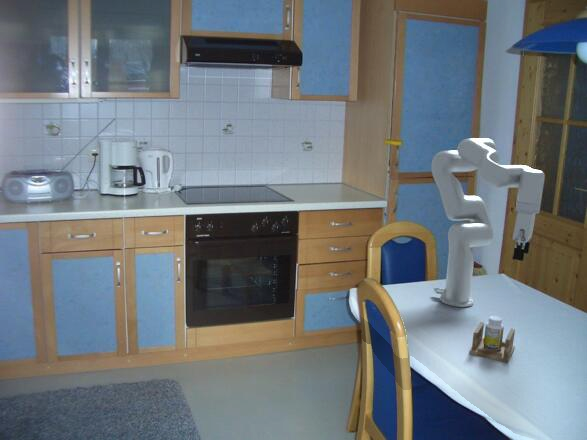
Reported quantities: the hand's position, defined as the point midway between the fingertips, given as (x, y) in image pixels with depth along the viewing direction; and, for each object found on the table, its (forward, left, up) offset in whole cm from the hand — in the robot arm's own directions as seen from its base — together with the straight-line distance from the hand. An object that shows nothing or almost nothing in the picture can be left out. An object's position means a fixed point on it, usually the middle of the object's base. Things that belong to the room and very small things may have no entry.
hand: (520, 256), depth 215 cm
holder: (-3, -20, -28) cm, 34 cm away
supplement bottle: (-3, -20, -27) cm, 33 cm away
